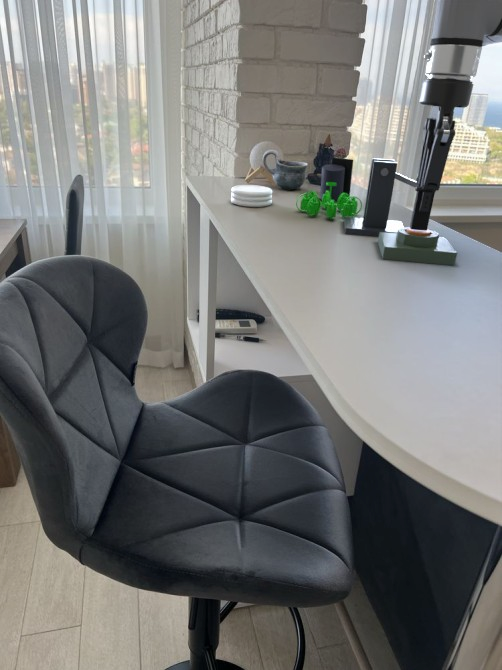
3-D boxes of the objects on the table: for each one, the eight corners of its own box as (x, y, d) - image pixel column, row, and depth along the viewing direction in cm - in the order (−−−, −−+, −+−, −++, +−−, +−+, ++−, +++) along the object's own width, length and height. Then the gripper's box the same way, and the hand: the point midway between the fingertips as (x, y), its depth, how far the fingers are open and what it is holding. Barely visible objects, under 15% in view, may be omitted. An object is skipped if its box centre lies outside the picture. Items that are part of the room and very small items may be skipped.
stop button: (426, 237, 91) (428, 228, 90) (430, 244, 88) (432, 234, 87) (403, 236, 92) (405, 226, 91) (406, 242, 88) (408, 232, 87)
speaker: (331, 195, 135) (336, 155, 130) (349, 200, 132) (354, 159, 127) (314, 201, 131) (318, 160, 125) (332, 206, 127) (337, 164, 122)
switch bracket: (399, 226, 109) (412, 159, 102) (406, 239, 100) (420, 166, 94) (343, 222, 110) (352, 155, 104) (344, 233, 101) (354, 161, 95)
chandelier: (355, 208, 123) (359, 179, 120) (365, 223, 109) (370, 191, 106) (293, 205, 123) (296, 175, 120) (296, 219, 110) (299, 186, 106)
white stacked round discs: (258, 209, 117) (259, 194, 115) (222, 203, 121) (223, 188, 119) (279, 203, 124) (280, 188, 123) (244, 197, 129) (245, 182, 127)
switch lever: (426, 195, 103) (433, 184, 102) (431, 200, 98) (437, 188, 97) (372, 171, 102) (378, 159, 101) (374, 174, 98) (380, 162, 97)
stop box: (442, 248, 95) (447, 227, 93) (454, 265, 86) (459, 242, 84) (377, 243, 96) (381, 222, 94) (382, 259, 87) (386, 236, 85)
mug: (308, 192, 139) (312, 154, 134) (263, 190, 138) (265, 152, 133) (302, 186, 147) (305, 149, 143) (259, 184, 146) (261, 147, 142)
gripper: (417, 78, 84) (392, 218, 95) (431, 76, 73) (401, 236, 83) (463, 80, 84) (433, 222, 94) (485, 79, 72) (448, 240, 83)
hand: (418, 228), depth 89 cm, fingers closed
